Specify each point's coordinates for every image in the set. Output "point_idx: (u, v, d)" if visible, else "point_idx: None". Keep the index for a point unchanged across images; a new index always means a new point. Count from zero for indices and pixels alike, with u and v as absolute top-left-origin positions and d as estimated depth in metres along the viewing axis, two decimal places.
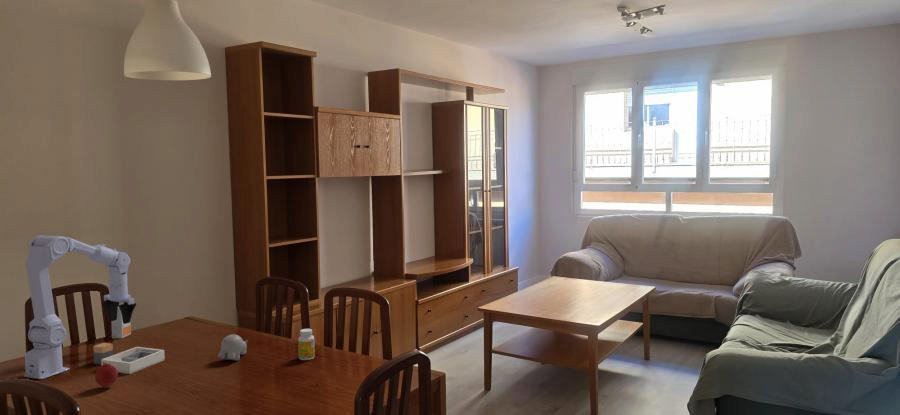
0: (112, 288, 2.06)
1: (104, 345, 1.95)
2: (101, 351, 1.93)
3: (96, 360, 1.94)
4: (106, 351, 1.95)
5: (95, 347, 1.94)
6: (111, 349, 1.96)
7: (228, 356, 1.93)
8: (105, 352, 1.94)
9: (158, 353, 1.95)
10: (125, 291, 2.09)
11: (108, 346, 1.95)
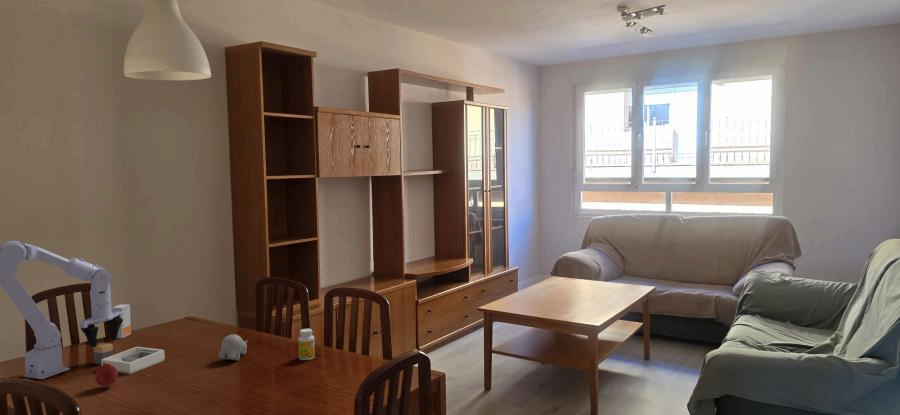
0: None
1: (104, 345, 1.95)
2: (101, 351, 1.93)
3: (96, 360, 1.94)
4: (106, 351, 1.95)
5: (95, 347, 1.94)
6: (111, 349, 1.96)
7: (228, 356, 1.93)
8: (105, 352, 1.94)
9: (158, 353, 1.95)
10: (96, 312, 1.92)
11: (108, 346, 1.95)
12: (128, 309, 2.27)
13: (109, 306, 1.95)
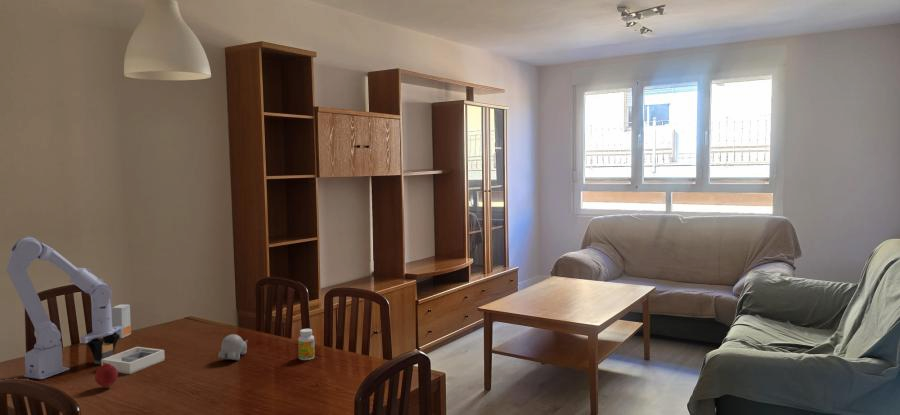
0: None
1: (104, 345, 1.95)
2: (101, 351, 1.93)
3: None
4: (106, 351, 1.95)
5: None
6: (111, 349, 1.96)
7: (228, 356, 1.93)
8: (105, 352, 1.94)
9: (158, 353, 1.95)
10: (96, 327, 1.92)
11: (108, 346, 1.95)
12: (128, 309, 2.27)
13: (110, 321, 1.95)
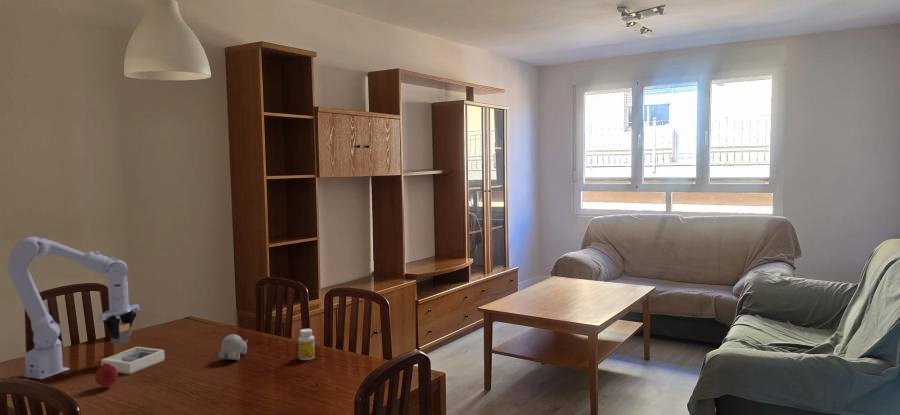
0: None
1: (121, 324, 1.94)
2: None
3: (113, 339, 1.93)
4: (123, 330, 1.94)
5: None
6: (128, 328, 1.95)
7: (228, 356, 1.93)
8: (122, 331, 1.93)
9: (158, 353, 1.95)
10: (113, 305, 1.91)
11: (125, 325, 1.94)
12: None
13: (126, 299, 1.94)
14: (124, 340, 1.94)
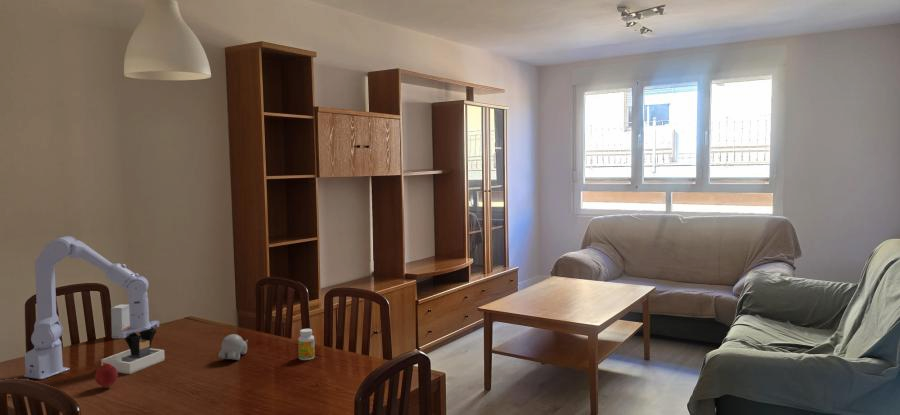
0: None
1: (141, 341, 1.94)
2: None
3: (132, 356, 1.93)
4: (143, 347, 1.93)
5: None
6: (148, 345, 1.95)
7: (228, 356, 1.93)
8: (142, 348, 1.93)
9: (158, 353, 1.95)
10: (134, 322, 1.91)
11: (145, 342, 1.94)
12: (128, 309, 2.27)
13: (147, 316, 1.93)
14: None
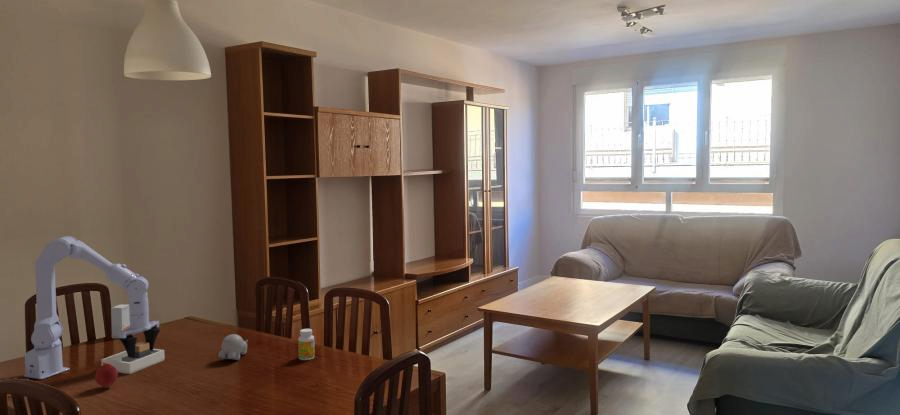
0: None
1: (141, 344, 1.94)
2: (138, 350, 1.92)
3: None
4: (143, 350, 1.93)
5: None
6: (147, 348, 1.95)
7: (228, 356, 1.94)
8: (142, 351, 1.93)
9: (158, 353, 1.95)
10: (134, 322, 1.91)
11: (145, 345, 1.94)
12: (128, 309, 2.27)
13: (147, 316, 1.93)
14: None
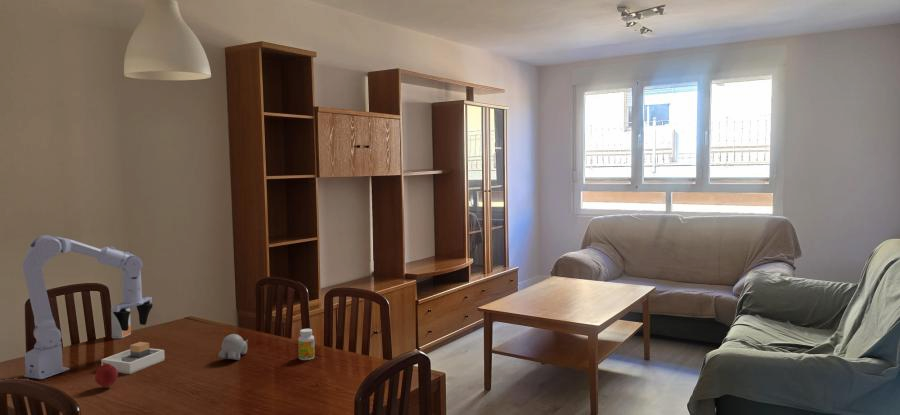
0: None
1: (141, 344, 1.94)
2: (138, 350, 1.92)
3: None
4: (143, 350, 1.93)
5: (132, 346, 1.93)
6: (147, 348, 1.95)
7: (228, 356, 1.94)
8: (142, 351, 1.93)
9: (158, 353, 1.95)
10: (127, 297, 1.99)
11: (145, 345, 1.94)
12: (128, 309, 2.27)
13: (140, 291, 2.02)
14: None
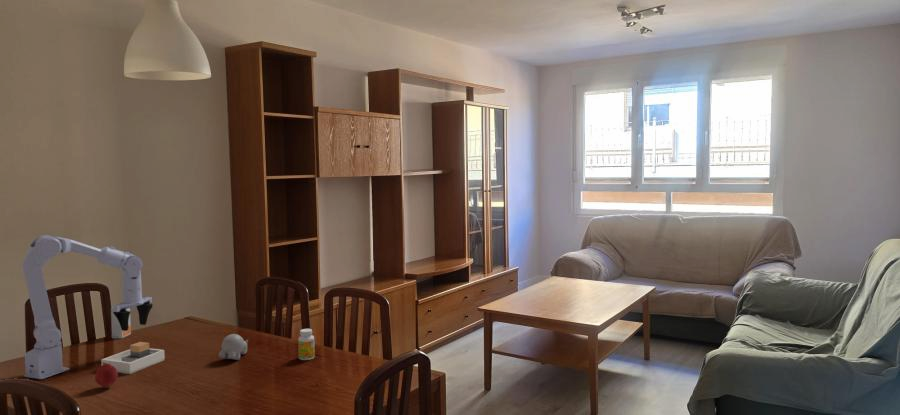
0: None
1: (141, 344, 1.94)
2: (138, 350, 1.92)
3: None
4: (143, 350, 1.93)
5: (132, 346, 1.93)
6: (147, 348, 1.95)
7: (229, 355, 1.94)
8: (142, 351, 1.93)
9: (158, 353, 1.95)
10: (127, 297, 1.99)
11: (145, 345, 1.94)
12: (128, 309, 2.27)
13: (140, 291, 2.02)
14: None
